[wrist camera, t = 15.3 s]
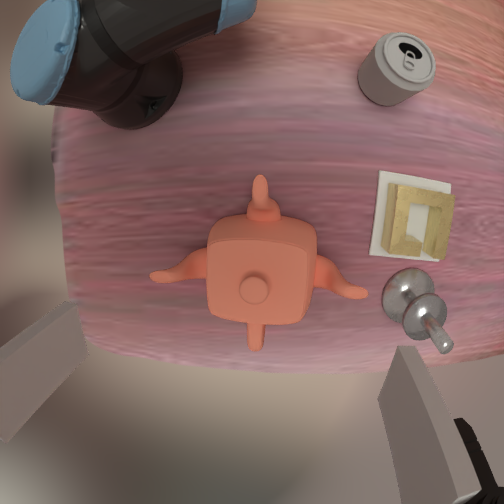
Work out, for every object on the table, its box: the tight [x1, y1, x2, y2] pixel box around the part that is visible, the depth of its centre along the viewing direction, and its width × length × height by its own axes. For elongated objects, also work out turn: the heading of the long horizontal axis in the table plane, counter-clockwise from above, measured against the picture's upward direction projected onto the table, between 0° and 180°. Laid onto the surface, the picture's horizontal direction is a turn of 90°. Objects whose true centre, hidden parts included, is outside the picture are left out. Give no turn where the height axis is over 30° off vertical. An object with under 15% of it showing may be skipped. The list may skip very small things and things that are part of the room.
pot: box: [149, 174, 368, 351], centre depth 37 cm, size 18×17×12 cm
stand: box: [382, 268, 454, 354], centre depth 34 cm, size 9×9×15 cm
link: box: [381, 183, 455, 260], centre depth 35 cm, size 9×9×4 cm
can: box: [358, 32, 436, 106], centre depth 27 cm, size 8×8×12 cm
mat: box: [368, 170, 451, 262], centre depth 37 cm, size 12×12×1 cm
